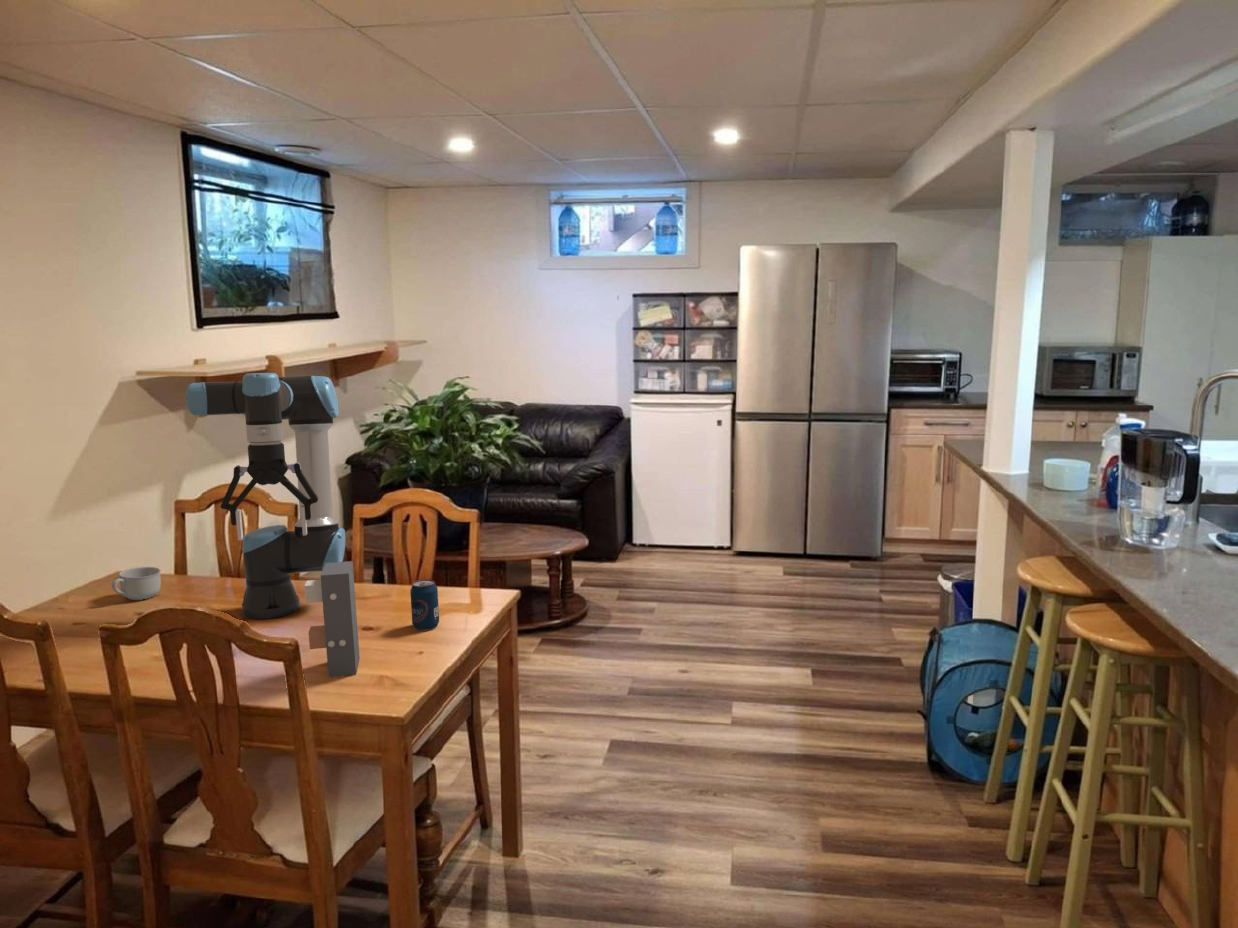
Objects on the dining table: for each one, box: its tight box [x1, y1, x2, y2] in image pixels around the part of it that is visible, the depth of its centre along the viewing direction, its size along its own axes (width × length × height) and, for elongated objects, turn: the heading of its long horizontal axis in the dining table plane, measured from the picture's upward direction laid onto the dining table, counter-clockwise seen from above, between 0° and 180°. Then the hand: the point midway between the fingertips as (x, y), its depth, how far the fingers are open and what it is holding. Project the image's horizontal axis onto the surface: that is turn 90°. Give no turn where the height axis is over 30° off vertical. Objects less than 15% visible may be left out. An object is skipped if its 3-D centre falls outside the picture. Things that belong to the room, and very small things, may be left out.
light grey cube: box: [304, 579, 323, 604], centre depth 200 cm, size 4×4×4 cm
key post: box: [320, 560, 360, 678], centre depth 202 cm, size 6×10×24 cm, turn 12°
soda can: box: [409, 579, 440, 632], centre depth 229 cm, size 7×7×12 cm
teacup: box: [111, 566, 162, 601], centre depth 257 cm, size 14×11×8 cm
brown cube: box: [307, 624, 326, 650], centre depth 202 cm, size 4×4×4 cm
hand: (273, 536), depth 198 cm, fingers open, 13 cm apart
